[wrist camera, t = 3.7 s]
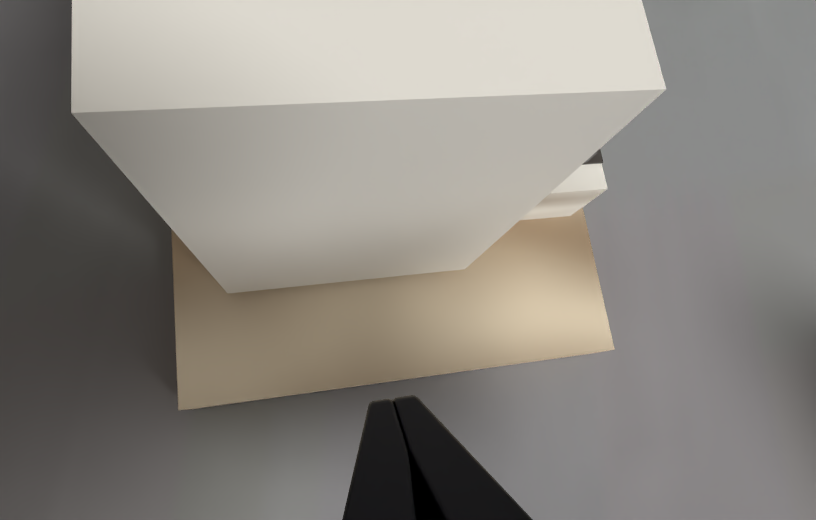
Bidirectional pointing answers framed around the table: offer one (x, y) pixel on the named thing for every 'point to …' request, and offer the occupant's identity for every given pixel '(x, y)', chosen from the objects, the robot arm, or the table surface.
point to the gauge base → (398, 314)
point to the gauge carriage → (353, 122)
